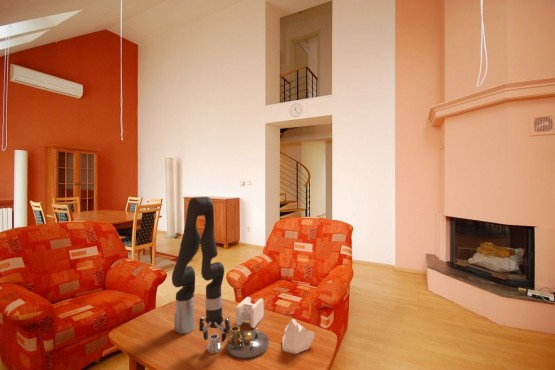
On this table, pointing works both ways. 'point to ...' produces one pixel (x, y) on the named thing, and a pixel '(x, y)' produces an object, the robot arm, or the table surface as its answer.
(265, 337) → the carrier
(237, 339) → the seated gear
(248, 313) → the cable organizer
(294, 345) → the white faceted rock
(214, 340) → the gear
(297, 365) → the table surface
